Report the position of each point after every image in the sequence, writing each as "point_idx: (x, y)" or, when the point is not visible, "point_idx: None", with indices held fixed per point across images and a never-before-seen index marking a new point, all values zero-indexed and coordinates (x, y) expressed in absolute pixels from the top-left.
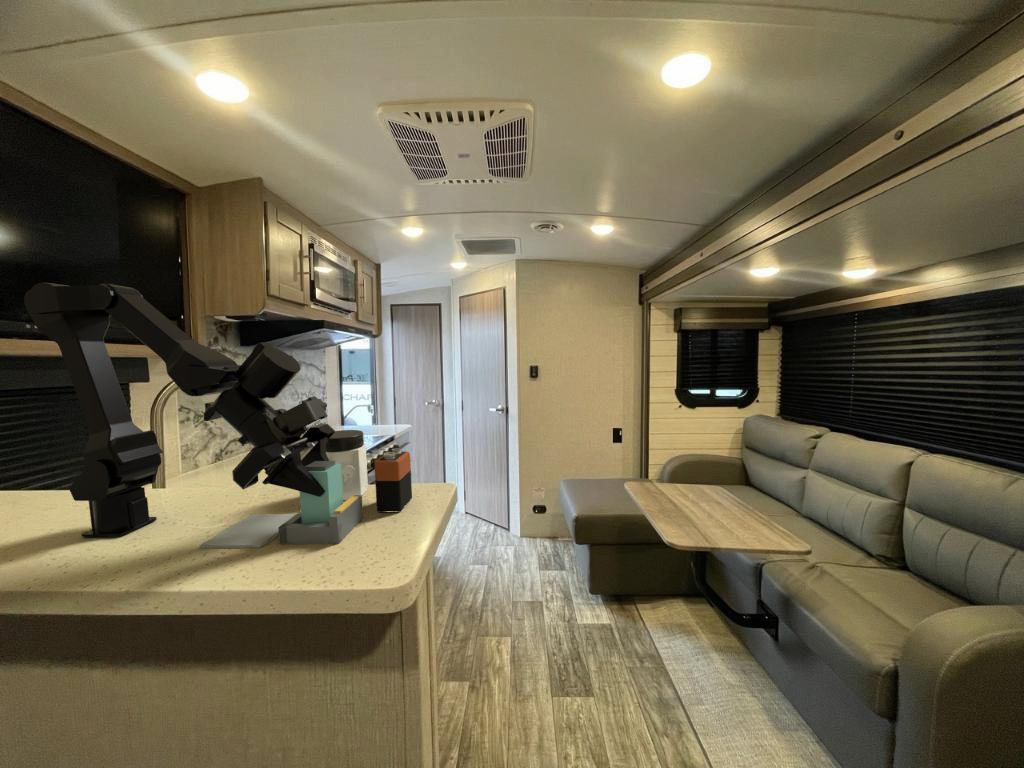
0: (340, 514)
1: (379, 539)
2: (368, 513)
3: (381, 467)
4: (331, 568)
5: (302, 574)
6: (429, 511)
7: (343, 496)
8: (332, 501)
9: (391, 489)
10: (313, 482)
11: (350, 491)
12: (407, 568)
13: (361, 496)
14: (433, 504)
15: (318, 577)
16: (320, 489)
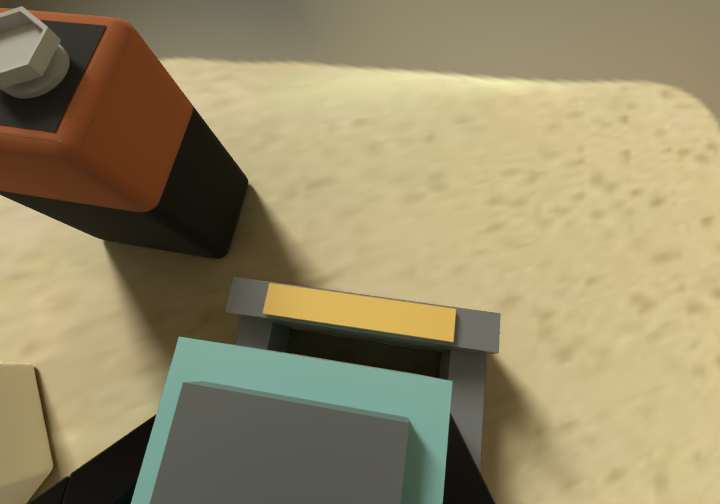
0: (463, 309)
1: (451, 202)
2: (224, 289)
3: (120, 131)
4: (642, 298)
5: (685, 381)
6: (263, 96)
7: (31, 437)
8: (387, 369)
9: (204, 158)
10: (490, 492)
11: (8, 408)
12: (630, 97)
13: (240, 278)
14: (206, 92)
15: (698, 320)
16: (455, 428)
